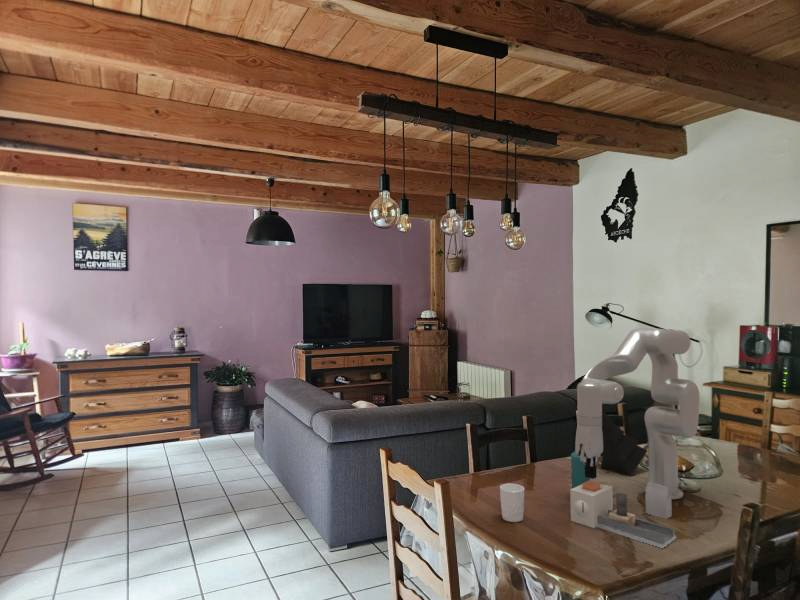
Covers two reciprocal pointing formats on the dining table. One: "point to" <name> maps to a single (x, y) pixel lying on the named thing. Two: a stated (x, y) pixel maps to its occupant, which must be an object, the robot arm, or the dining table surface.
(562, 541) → the dining table surface
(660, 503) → the light grey block
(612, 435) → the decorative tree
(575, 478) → the beverage bottle
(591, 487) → the button
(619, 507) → the carriage
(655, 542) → the rail
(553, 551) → the dining table surface
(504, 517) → the white cup
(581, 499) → the gauge cabinet
